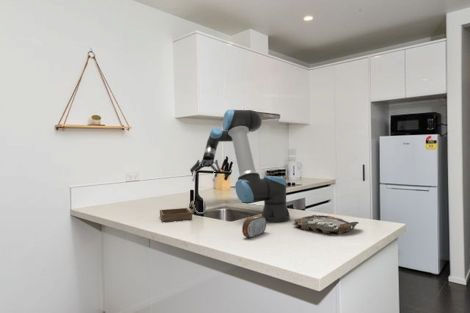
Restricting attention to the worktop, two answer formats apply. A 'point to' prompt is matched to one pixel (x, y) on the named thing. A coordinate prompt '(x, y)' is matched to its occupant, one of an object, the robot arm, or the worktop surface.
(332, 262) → the worktop surface
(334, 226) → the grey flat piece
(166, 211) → the walnut box
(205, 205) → the ceramic mug
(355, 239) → the worktop surface
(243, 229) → the tin
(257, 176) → the robot arm
